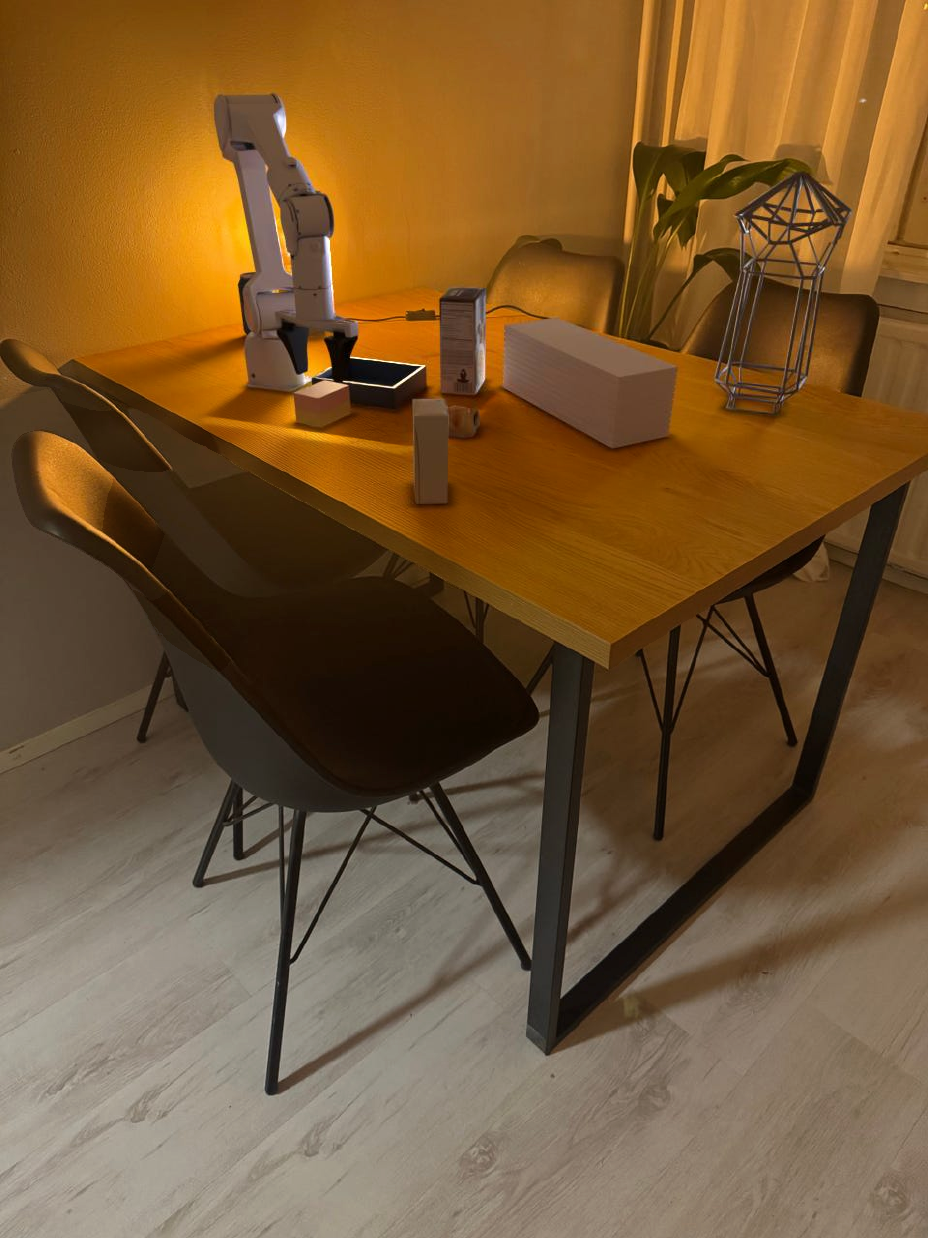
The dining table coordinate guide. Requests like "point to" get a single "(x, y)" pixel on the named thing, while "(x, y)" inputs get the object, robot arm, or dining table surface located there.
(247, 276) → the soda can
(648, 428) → the stack of papers
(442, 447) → the cosmetic box
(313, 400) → the pink rectangular block
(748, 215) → the geometric lantern
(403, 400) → the storage box
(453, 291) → the coffee box
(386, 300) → the dining table surface
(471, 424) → the pastry
